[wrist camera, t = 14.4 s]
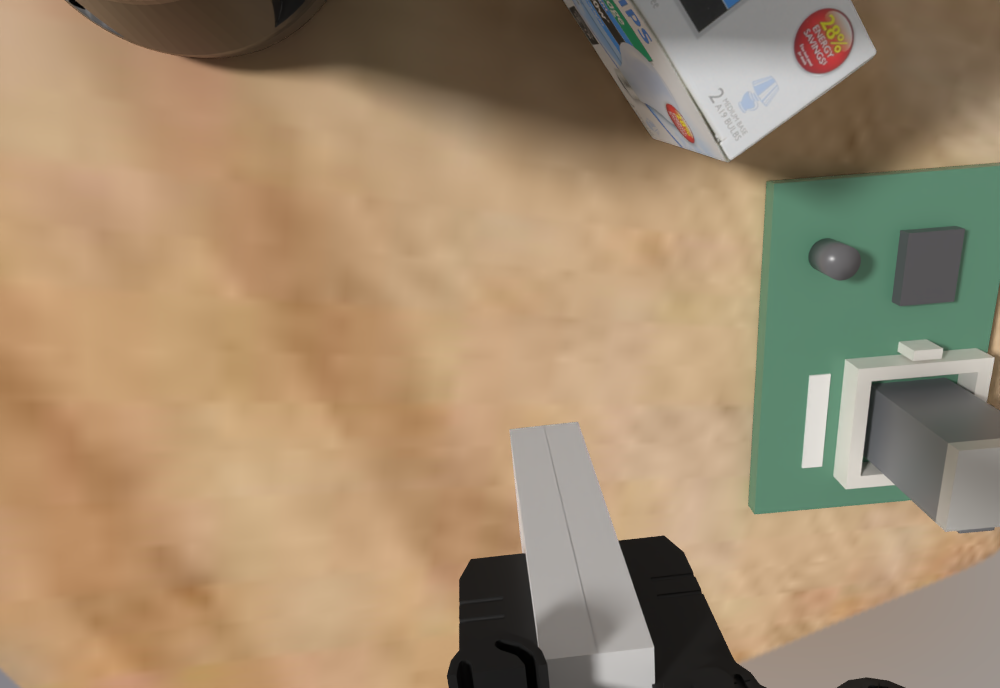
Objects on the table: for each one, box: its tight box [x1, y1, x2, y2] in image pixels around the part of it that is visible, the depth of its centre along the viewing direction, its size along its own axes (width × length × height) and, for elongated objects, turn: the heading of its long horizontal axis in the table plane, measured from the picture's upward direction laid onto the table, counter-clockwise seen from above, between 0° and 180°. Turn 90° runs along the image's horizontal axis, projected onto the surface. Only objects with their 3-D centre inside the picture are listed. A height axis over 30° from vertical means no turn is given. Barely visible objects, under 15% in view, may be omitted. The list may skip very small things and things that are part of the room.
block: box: [863, 378, 1000, 533], centre depth 39 cm, size 5×4×8 cm
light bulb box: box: [563, 0, 877, 162], centre depth 30 cm, size 11×7×11 cm, turn 37°
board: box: [748, 163, 1000, 514], centre depth 40 cm, size 20×13×3 cm, turn 4°
